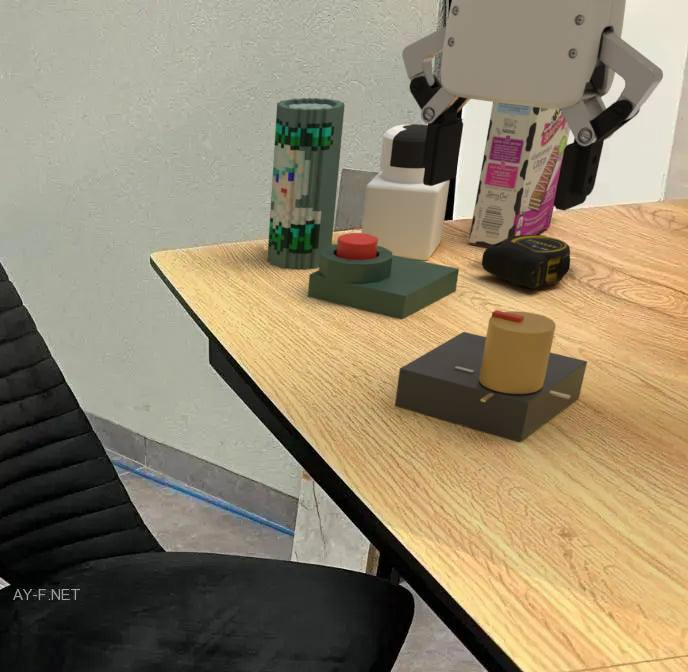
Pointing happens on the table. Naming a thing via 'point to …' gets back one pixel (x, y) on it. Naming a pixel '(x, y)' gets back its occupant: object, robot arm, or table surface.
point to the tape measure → (528, 260)
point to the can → (304, 181)
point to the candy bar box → (518, 173)
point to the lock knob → (516, 352)
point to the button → (357, 246)
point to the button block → (381, 282)
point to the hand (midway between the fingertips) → (501, 193)
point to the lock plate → (484, 390)
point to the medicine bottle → (405, 197)
